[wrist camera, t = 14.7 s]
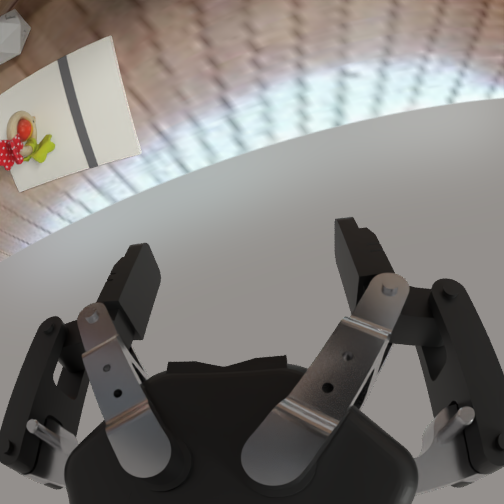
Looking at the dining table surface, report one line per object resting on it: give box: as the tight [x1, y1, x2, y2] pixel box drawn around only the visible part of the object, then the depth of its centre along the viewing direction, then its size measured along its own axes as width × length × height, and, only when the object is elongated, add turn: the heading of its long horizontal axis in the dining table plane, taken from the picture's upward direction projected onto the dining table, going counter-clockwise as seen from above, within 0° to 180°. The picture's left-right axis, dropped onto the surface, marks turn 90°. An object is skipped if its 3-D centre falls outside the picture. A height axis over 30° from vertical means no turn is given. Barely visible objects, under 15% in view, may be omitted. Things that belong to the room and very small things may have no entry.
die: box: [0, 9, 31, 65], centre depth 23 cm, size 8×9×10 cm
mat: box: [0, 36, 142, 193], centre depth 36 cm, size 18×26×1 cm
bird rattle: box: [0, 111, 55, 171], centre depth 32 cm, size 6×11×9 cm
